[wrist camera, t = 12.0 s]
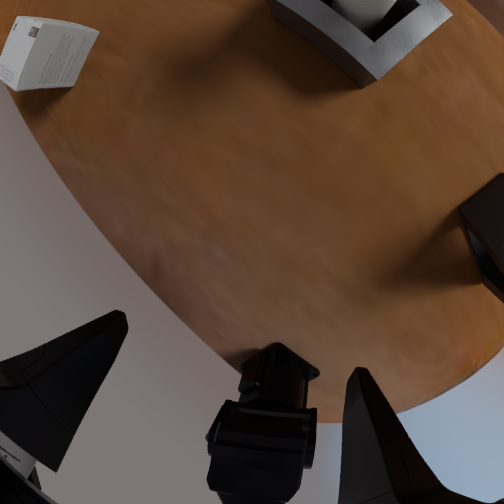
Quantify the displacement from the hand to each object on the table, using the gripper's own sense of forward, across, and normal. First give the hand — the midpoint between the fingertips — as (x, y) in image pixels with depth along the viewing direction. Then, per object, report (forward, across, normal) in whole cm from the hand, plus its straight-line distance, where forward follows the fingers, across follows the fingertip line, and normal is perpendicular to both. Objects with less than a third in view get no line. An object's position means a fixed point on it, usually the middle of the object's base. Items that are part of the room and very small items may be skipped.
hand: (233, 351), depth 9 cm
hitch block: (+13, -3, -16) cm, 21 cm away
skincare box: (+13, +22, -14) cm, 29 cm away
